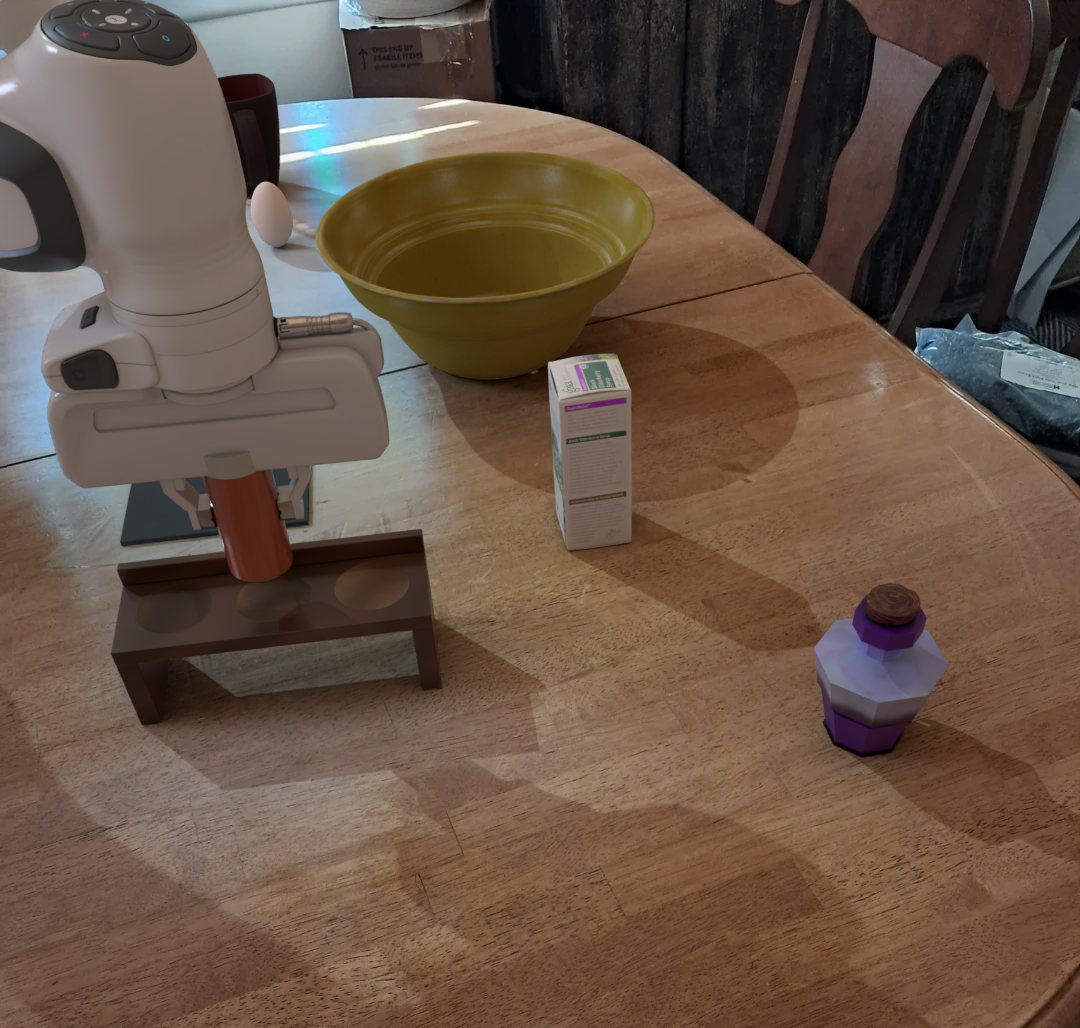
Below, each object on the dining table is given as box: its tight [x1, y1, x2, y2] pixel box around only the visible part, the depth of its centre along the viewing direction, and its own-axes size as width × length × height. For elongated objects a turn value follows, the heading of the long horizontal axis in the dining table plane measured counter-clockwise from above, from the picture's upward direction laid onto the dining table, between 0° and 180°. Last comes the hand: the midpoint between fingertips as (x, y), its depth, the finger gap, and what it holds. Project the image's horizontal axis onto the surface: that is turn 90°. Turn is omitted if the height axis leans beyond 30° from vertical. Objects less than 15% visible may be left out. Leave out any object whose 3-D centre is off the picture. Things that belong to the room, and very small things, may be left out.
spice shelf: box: [110, 528, 443, 726], centre depth 84 cm, size 22×8×9 cm, turn 98°
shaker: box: [202, 451, 293, 582], centre depth 76 cm, size 5×5×10 cm
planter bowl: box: [315, 151, 656, 381], centre depth 114 cm, size 32×32×13 cm
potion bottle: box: [813, 582, 949, 758], centre depth 76 cm, size 9×9×12 cm
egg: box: [250, 182, 294, 248], centre depth 135 cm, size 5×5×7 cm
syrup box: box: [547, 352, 633, 551], centre depth 92 cm, size 6×6×14 cm
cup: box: [217, 73, 281, 199], centre depth 144 cm, size 10×14×12 cm
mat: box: [119, 468, 310, 546], centre depth 104 cm, size 16×14×1 cm
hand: (249, 519), depth 77 cm, fingers closed on shaker, 4 cm apart
